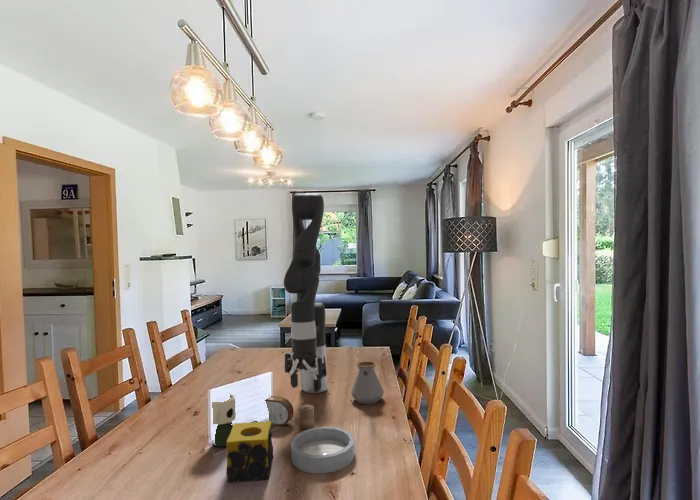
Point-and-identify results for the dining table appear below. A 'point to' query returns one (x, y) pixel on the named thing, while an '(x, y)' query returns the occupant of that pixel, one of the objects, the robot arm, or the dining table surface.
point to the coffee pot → (367, 384)
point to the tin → (279, 410)
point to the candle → (249, 452)
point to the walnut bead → (306, 417)
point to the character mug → (223, 419)
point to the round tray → (322, 449)
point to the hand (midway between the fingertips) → (305, 389)
